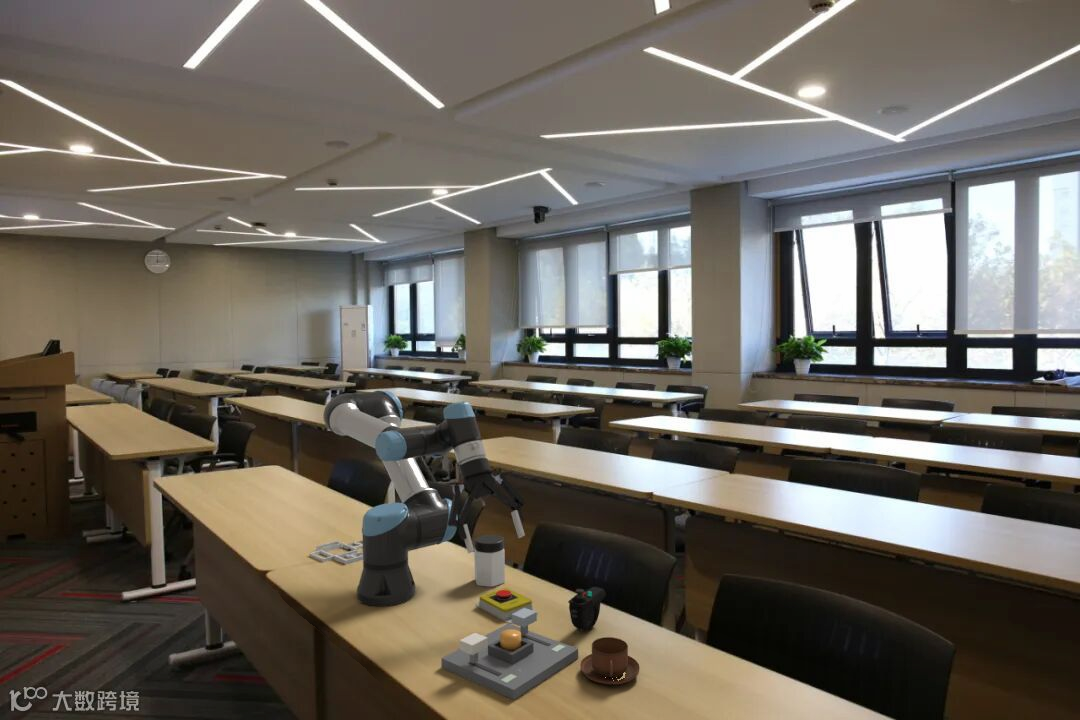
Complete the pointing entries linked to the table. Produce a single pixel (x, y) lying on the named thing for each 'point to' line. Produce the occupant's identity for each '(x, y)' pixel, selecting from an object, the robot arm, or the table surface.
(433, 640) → the table surface
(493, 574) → the jar
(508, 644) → the amber button
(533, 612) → the slate lever
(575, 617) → the controller
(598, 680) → the cup and saucer
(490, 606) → the emergency button
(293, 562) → the table surface
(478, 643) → the off-white rectangular box
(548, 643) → the control panel
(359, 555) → the floor plan model
